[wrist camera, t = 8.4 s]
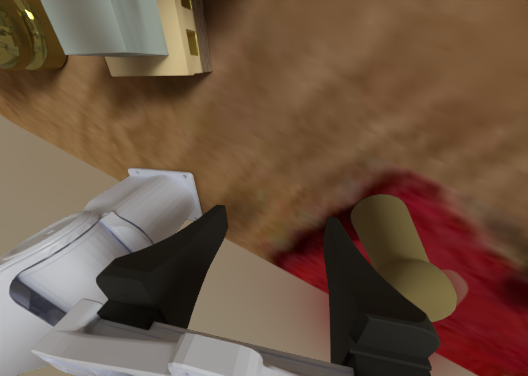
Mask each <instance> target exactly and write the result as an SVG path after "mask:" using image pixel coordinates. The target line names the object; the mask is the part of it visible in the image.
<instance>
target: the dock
mask: <svg viewBox="0 0 528 376" xmlns="http://www.w3.org/2000/svg"><path fill="white" fill-rule="evenodd" d="M181 6H182V7H184V8H187V9H189V10H191V11H193V18H194V24H195V30H196V32H186V33H187V39H188V44H189V50H190V55H193V56H200V61H201V67H202V72H212V65H211V58H210V50H209V43H208V36H207V28H206V21H205V14H204V6H203V0H181Z"/></svg>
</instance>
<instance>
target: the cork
mask: <svg viewBox="0 0 528 376" xmlns="http://www.w3.org/2000/svg"><path fill="white" fill-rule="evenodd" d="M350 217H351V222H352V224H353V226H354V228H355V230H356V232H357V234H358V236H359V238H360V240H361V242H362V244H363V246H364V248H365V251H366V253H367V255H368V257H369V259H370V261H371V263H372V265H373V267H374V269H375V270H376V271H377V272H378V273H379V274H380V275H381V276H382V277H383V278H384V279H385V280H386V281H387V282H388V283H389V284H390V285H391V286H392V287H394V288H395V289H396V290H397V291H398V292H399V293H401V294H402V295H403V296H404V297H405V298H407V299H408V300H409V301H410V302H412V303H413V304H414V305H416V306H417V307H418V308H420V309H421V310H422V311H424V312H425V313H426V314H427V316H428V318H429V319H430V321H431V322H434V321H438V320H441V319H443V318H445V317H447V316H449V315H450V314H451V313H452V312H453V311H454V310H455V308H456V300H457V295H456V292H455V289H454V287H453V286H452V283H451V282H450V280H449V279H448V277H447V276H446V275H445V274H444V273H443V272H442V271H441V270H440V269H439V268H437V267H436V266H435V265H433V264H431V263H429V260H428V258H427V255H426V253H425V251H424V248H423V246H422V243H421V241H420V238H419V236H418V234H417V231H416V229H415V226H414V224H413V222H412V219H411V217H410V214H409V212H408V209H407V207H406V205H405V204H404V202H403V201H401V200H400V199H399V198H397V197H394V196H391V195H383V194H379V195H373V196H369V197H367V198H365V199H362V200H361V201H360V202H358V203H357V204H356V205H355V206H354V208H353V209H352V212H351V216H350Z"/></svg>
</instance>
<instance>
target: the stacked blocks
mask: <svg viewBox="0 0 528 376" xmlns="http://www.w3.org/2000/svg"><path fill="white" fill-rule="evenodd" d="M41 2H42V5H43V7H44V9H45V11H46V13H47V16H48V18H49V20H50V22H51V24H52V26H53V29H54V31H55V33H56V35H57V37H58V39H59V42H60V44H61V46H62V48H63V50H64V53H65V55H82V56H104V57H105V59H106V62H107V65H108V68H109V70H110V73H111V76H112V77H114V76H175V75H194V73H202V67H201V61H200V56H193V55H190V50H189V44H188V39H187V33H186V32H196V30H195V24H194V18H193V11H191V10H189V9H187V8H184V7H182V6H181V0H41Z"/></svg>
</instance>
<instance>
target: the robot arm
mask: <svg viewBox="0 0 528 376" xmlns="http://www.w3.org/2000/svg"><path fill="white" fill-rule="evenodd" d="M128 172H129V175H130V176H129V177H127V178H125V179H124V180H122V181H120V182H119V183H117V184H116V185H114V186H112V187H111V188H109V189H107V190H106V191H104V192H102V193H101V194H99V195H97V196H96V197H94V198H93V199H92V200H90V201H89V202H88V204H87V205H86V206H85V208H84V210H83V211H80V212H77V213H74V214H72V215H69V216H67V217H65V218H63V219H61V220H59V221H57V222H55V223H53V224H51V225H50V226H48V227H46V228H44V229H42V230H41V231H39V232H37V233H35V234H34V235H32V236H30V237H29V238H27V239H26V240H24V241H23V242H21V243H20V244H18V245H17V246H15V247H14V248H12V249H11V250H10V251H9V252H7V253H6V254H4V255H2V256H1V257H0V376H19V375H20V374H23V373H25V372H28V371H32V370H35V369H38V368H43V367H47V366H51V365H53V366H54V367H56V368H58V369H59V370H60V371H63V372H66V373H69V374H72V375H75V376H431V374H430V372H429V371H431V370H432V369H431V368H432V367H431V365H430V362H429V360H428V357H429V356H430V355H431V354H433V353H434V352H435V351H436V350H437V348H438V347H439V345H440V339H439V337H438V335H437V333H436V330H435V328H434V326H433V325H432V323H431V321H430V319H429V318H428V316H427V314H426V313H425V312H424V311H422V310H421V309H420V308H418V307H417V306H416V305H414V304H413V303H412V302H410V301H409V300H408V299H407V298H405V297H404V296H403V295H402V294H401V293H399V292H398V291H397V290H396V289H395V288H394V287H392V286H391V285H390V284H389V283H388V282H387V281H386V280H385V279H384V278H383V277H382V276H381V275H380V274H379V273H378V272H377V271H376V270H375V269H374V268H373V267H372V266H371V265H370V264H369V262H368V261H367V260H366V259H365V258H364V257H363V255H362V254H361V253H360V251H359V250H358V249H357V247H356V246H355V245H354V243H353V242H352V240H351V239H350V237H349V236H348V234H347V233H346V231H345V230H344V228H343V226H342V224H341V223H340V221H339V219H338V218H334V217H328V218H327V223H326V228H325V233H324V238H323V249H324V259H325V267H326V274H327V281H328V289H329V307H330V341H331V363H329V362H324V361H320V360H316V359H312V358H308V357H303V356H299V355H295V354H290V353H286V352H282V351H278V350H274V349H269V348H265V347H260V346H257V345H252V344H248V343H243V342H240V341H235V340H231V339H227V338H222V337H218V336H214V335H210V334H206V333H201V332H197V331H193V330H189V329H187V328H188V325H189V321H190V318H191V315H192V312H193V309H194V306H195V303H196V300H197V297H198V295H199V292H200V289H201V286H202V284H203V281H204V279H205V276H206V273H207V271H208V269H209V267H210V265H211V263H212V261H213V259H214V257H215V255H216V253H217V251H218V249H219V247H220V246H221V244H222V242H223V239H224V237H225V235H226V232H227V229H228V222H227V216H226V209H225V206H224V205H216V206H215V207H213V208H212V209H211V210H209V211H208V212H207V213H205V214H204V215H202V211H201V207H200V202H199V198H198V194H197V190H196V186H195V181H194V177H193V175H192V173H190V172H179V171H167V170H154V169H141V168H130V169H128ZM185 175H186V176H185ZM186 220H194V222H193V223H191V224H190V225H188V226H187V227H185V228H184V229H182V230H180V231H179V232H177V231H178V229H179V228H180V227H181V226H182V224H183V223H184V222H185V221H186ZM176 232H177V233H176Z"/></svg>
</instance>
